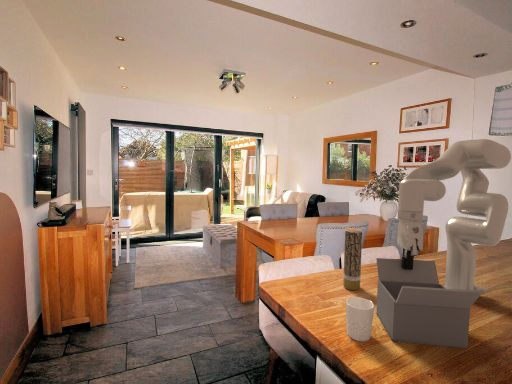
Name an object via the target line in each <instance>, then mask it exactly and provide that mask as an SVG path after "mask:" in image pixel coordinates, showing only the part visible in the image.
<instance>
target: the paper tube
mask: <svg viewBox="0 0 512 384" xmlns="http://www.w3.org/2000/svg"><path fill="white" fill-rule="evenodd" d="M362 245H363V229H361V228H357V227H346V228H345V229H344V252H343V253H344V255H343V257H344V258H343V279H342V280H343V287H344V288H345V289H347V290H351V291H357V290H359V289H360V288H361V275H362V273H361V269H362V250H363V249H362Z"/></svg>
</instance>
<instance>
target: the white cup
mask: <svg viewBox="0 0 512 384" xmlns="http://www.w3.org/2000/svg"><path fill="white" fill-rule="evenodd" d="M345 300H346V301H345V306H346V307H345V317H346V319H345V321H346V322H345V323H346V334H347V336H348V337H349V338H351V339H352V340H354V341H357V342H368V341H369V340H370V339H371V338H372V337H371V336H372V330H373V321H374V310H375V309H374V308H375V304H374V302H373V301H371V300H370V299H366V298H364V297H359V296H358V297H356V296H355V297H353V296H352V297H348V298H346V299H345Z"/></svg>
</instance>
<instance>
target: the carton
mask: <svg viewBox="0 0 512 384" xmlns="http://www.w3.org/2000/svg"><path fill="white" fill-rule="evenodd" d="M402 286H411V287H427V288H443V289H446V288H445V287H444V285H443V284H440V283H439V284H430V283H413V282H397V281H380V280H377V290H376V291H377V292H376V317H377V318H378V320H379V321H380V322H381V324H382V325H381V326H383V328H384V329H385V332H386V333H387V335H388V336H389V339H390V340H391V342H394V343H402V344H403V343H404V344H414V345H426V346H438V347H447V348H450V347H451V348H459V349H460V348H462V349H468V348H469V347H468V344H469V329H470V319H471V318H470V315H471V308H470V309H467V308H453V307H439V306H424V305H410V304H396V300H397V298H398V295H399V293H400V290H401V288H402Z"/></svg>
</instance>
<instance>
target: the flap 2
mask: <svg viewBox="0 0 512 384" xmlns="http://www.w3.org/2000/svg"><path fill="white" fill-rule="evenodd" d="M481 294H482V292H481V291H476V290H460V289H443V288H427V287H411V286H402V288H401V290H400V293H399V295H398V298H397V300H396V304H410V305H424V306H439V307H453V308H467V309H470V310H471V308H472V306H473V305H474V303H475V302H476V301H477V300H478V299H479V297H480V295H481ZM477 298H478V299H477Z"/></svg>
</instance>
